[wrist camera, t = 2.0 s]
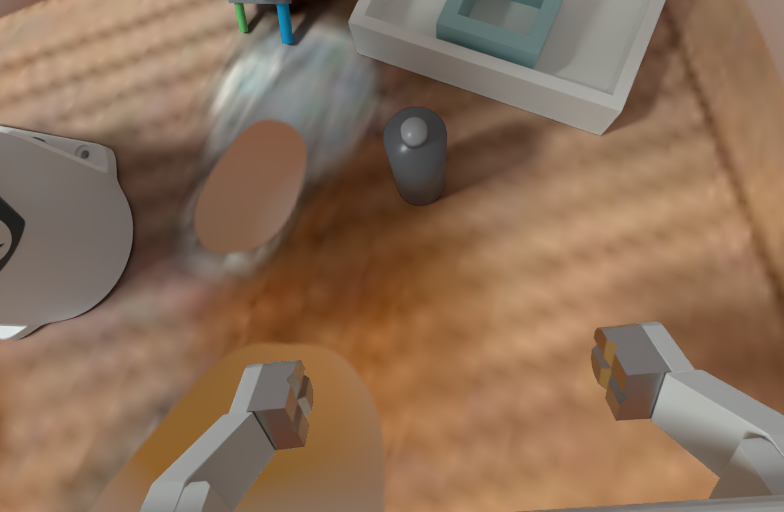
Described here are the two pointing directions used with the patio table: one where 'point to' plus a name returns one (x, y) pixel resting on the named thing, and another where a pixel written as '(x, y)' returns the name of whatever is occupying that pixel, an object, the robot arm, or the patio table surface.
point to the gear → (283, 15)
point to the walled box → (518, 50)
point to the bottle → (417, 154)
